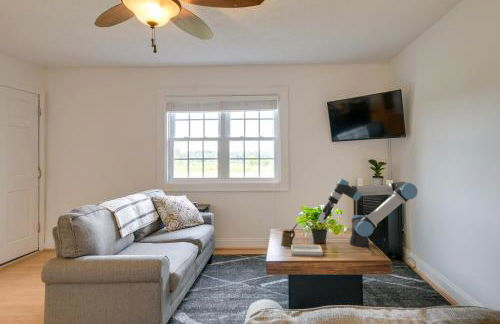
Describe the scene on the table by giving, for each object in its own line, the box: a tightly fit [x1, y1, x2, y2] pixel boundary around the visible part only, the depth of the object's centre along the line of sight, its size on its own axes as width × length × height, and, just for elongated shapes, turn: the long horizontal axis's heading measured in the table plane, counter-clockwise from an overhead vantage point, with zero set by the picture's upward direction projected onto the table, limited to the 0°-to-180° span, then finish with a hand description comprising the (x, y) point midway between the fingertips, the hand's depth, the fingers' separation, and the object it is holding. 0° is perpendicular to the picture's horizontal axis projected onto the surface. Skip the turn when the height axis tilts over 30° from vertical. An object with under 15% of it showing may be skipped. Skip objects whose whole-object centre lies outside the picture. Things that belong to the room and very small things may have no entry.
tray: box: [290, 244, 324, 257], centre depth 230 cm, size 22×16×3 cm
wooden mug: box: [280, 222, 298, 247], centre depth 250 cm, size 9×14×18 cm, turn 71°
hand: (320, 221), depth 241 cm, fingers open, 13 cm apart
